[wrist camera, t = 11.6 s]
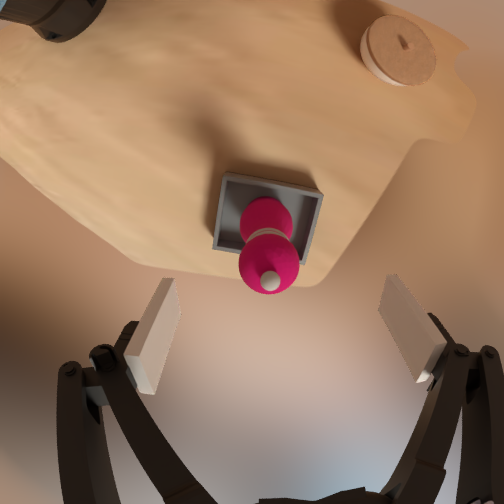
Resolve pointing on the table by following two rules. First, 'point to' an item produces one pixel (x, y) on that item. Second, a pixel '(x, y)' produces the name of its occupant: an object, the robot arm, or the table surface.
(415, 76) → the lidded jar
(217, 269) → the table surface
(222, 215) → the bin
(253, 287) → the pepper mill
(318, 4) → the table surface
